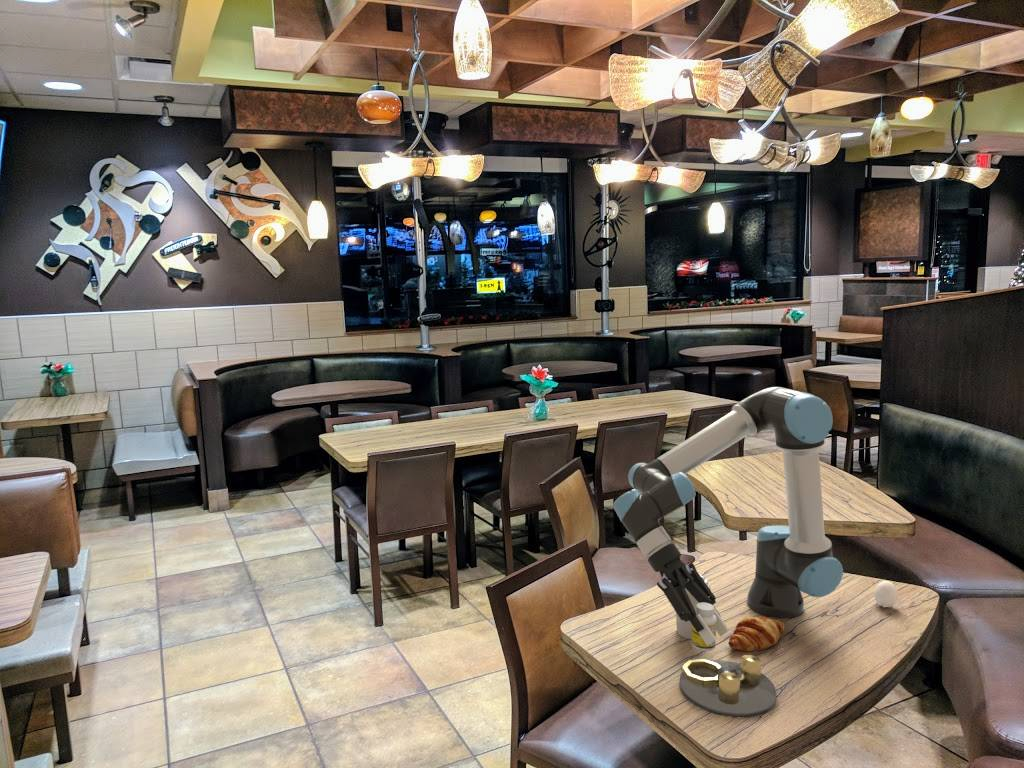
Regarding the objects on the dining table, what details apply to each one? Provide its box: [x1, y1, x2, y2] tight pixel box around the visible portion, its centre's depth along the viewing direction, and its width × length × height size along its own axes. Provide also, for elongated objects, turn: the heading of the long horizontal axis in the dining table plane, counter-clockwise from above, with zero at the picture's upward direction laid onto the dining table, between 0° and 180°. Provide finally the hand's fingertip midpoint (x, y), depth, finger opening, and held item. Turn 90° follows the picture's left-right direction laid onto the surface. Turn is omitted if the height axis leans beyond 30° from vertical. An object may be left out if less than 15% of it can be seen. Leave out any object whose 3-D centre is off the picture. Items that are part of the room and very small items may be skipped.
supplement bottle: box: [691, 602, 717, 652], centre depth 172 cm, size 5×5×10 cm
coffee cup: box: [675, 574, 711, 640], centre depth 195 cm, size 10×10×15 cm
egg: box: [873, 580, 899, 608], centre depth 212 cm, size 6×6×8 cm
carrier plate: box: [679, 654, 777, 718], centre depth 169 cm, size 21×21×6 cm
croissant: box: [728, 615, 785, 652], centre depth 192 cm, size 21×10×8 cm, turn 126°
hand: (718, 637), depth 169 cm, fingers closed on supplement bottle, 5 cm apart
